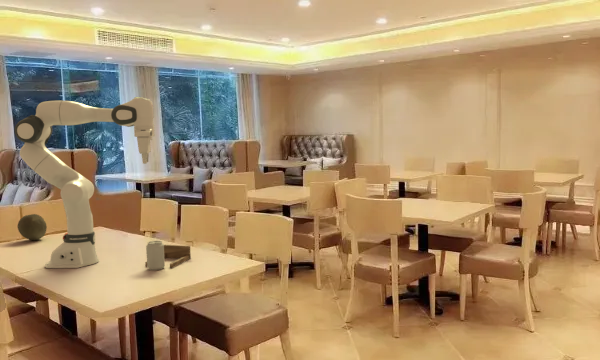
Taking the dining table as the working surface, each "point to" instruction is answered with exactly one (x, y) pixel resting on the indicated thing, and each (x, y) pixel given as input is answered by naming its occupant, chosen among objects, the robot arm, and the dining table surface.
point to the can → (155, 255)
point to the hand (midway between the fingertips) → (145, 163)
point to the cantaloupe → (32, 227)
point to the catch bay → (176, 254)
